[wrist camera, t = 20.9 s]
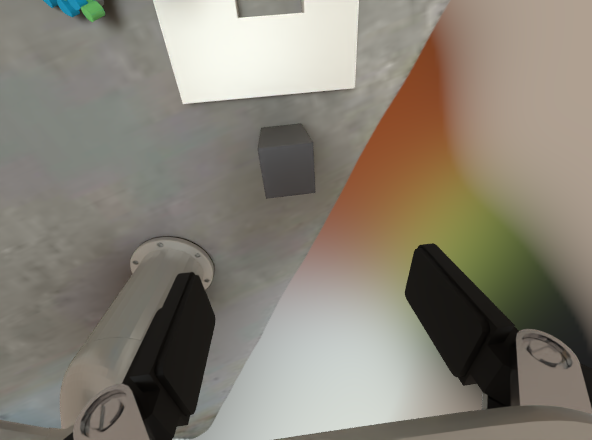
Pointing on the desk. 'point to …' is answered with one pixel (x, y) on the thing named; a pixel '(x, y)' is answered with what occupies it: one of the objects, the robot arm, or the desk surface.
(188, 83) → the socket block
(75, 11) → the blue spiky figurine
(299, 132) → the plug
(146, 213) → the desk surface
